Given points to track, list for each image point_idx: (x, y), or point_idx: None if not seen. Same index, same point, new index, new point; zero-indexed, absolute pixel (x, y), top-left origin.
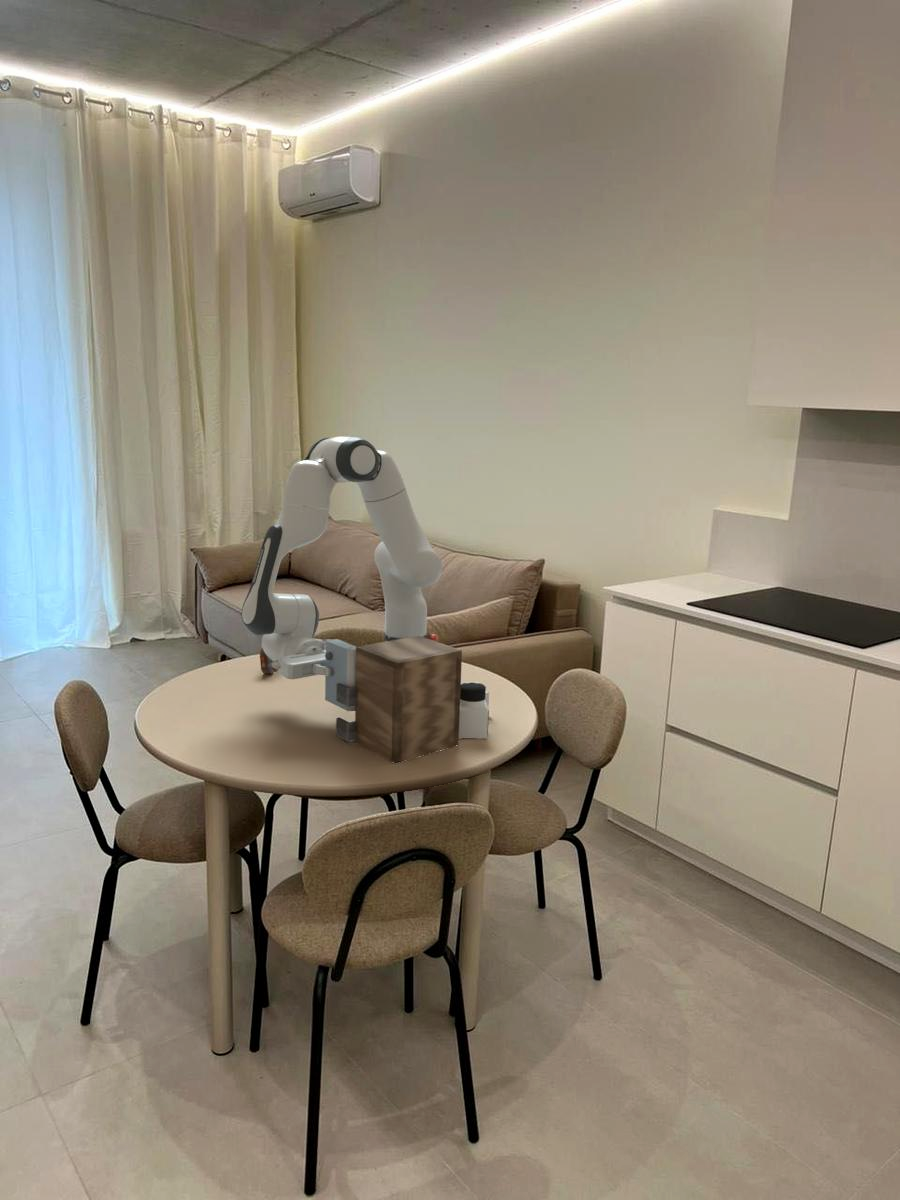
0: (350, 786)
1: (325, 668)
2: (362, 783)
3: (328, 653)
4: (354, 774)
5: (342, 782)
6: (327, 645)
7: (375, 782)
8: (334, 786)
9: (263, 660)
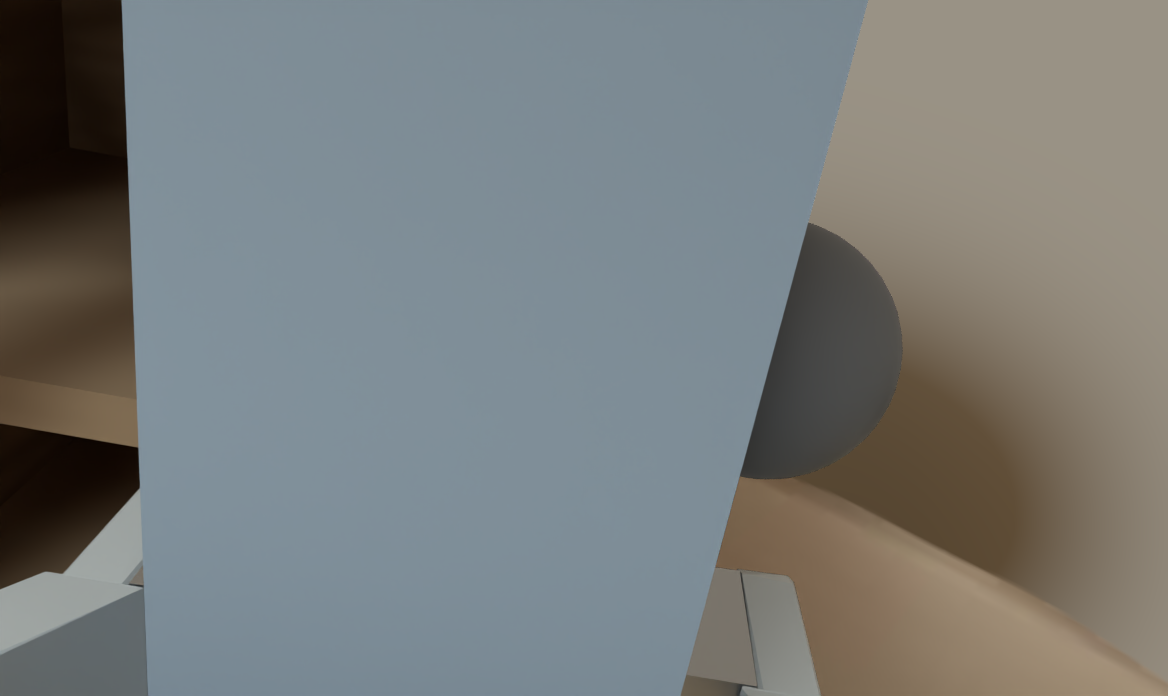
0: (877, 525)
1: (804, 658)
2: (811, 511)
3: (841, 244)
4: (799, 575)
5: (896, 563)
6: (819, 59)
7: (752, 486)
8: (950, 563)
9: None
